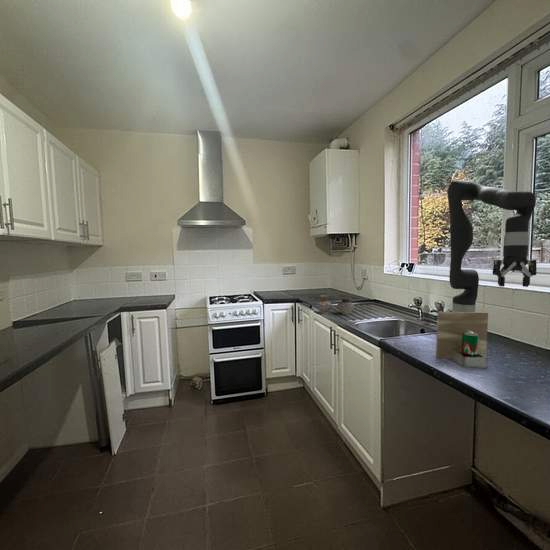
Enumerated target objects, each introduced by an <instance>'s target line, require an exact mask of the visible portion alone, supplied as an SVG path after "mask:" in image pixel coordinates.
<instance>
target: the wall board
mask: <svg viewBox="0 0 550 550" xmlns="http://www.w3.org/2000/svg"><path fill="white" fill-rule="evenodd" d="M436 320H437V321H436V341H435V343H436V345H435V356H436V357H437V358H449V359H450V356H451V349H454V350H455V351H457V352H458V353H460V354H461V352H462V333H463V332H464V330H472V331H476V332H477V334H478V353H480V354H481V355H483V356H485V357H487V342H488V330H489V329H488V326H489V325H488V324H489V312H487V311H486V312H485V311H482V312H480V311H475V312H452V311H437V318H436Z"/></svg>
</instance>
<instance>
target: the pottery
mask: <svg viewBox="0 0 550 550" xmlns="http://www.w3.org/2000/svg"><path fill="white" fill-rule="evenodd" d="M328 298H329V295H325V294H324V295H320V299H321V300H319V302H317V303H316V306H317V309H318V311H320V312H319V313H320V314H321V315H327V314H329V311H330V310H331V308H332V305H333V304H332V303H331V302H330V301H329V299H328ZM340 300H341V302H339V303H337V308H338V310H339V311H340V313H341V315H345V316H350V315H351V313H352V312H354V309H355V304H354V303H353V302H351V301H352V298H351V297H341V299H340Z"/></svg>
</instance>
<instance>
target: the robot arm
mask: <svg viewBox="0 0 550 550" xmlns="http://www.w3.org/2000/svg"><path fill="white" fill-rule="evenodd" d="M463 201H465V202H466V201H481V202H482V203H484V204H487V205H489V206H495V207H498V208H500V209H502V210H506V211H516V212H515V215H514V216H510V217H508V218H507V219H506V220H505V228H504V237H503V247H502V248H503V249H502V250H503V251H502V257H503V259H494V260H493V267H492V275H494V276H497V285H498V287H502V288H503V287H505V283H506V277H505V276H506V275H507V274H508V273H509V272H514V271H515V272H516V271H518V272H520V273H521V275H522V287H527V288H528V287H529V286H530V284H531V277H533V276H536V275H537V259H528V256H529V246H530V245H529V243H530V241H529V240H530V236H529V228H530V220H531V217H532V214H533V212H534V210H535V208H536V204H537V197H536V195H535V194H534V192H531V191H529V190H528V191H527V190H525V191H524V190H522V191H521V190H520V191H519V190H517V191H516V190H509V189H507V188H502V187H497V186H496V187H494V186H484V185H482V184H480V183H477V182H474V181H473V180H472V181H471V180H463V179H462V180H461V179H458V180H457V179H456V180H452V181H451V182H450V183H449V184H448V187H447V202H448V208H449V209H448V210H449V224H450V226H449V228H450V229H449V238H450V239H449V241H450V263H449V275H448V276H449V284H450V287H451V288H452V289H454V290H463V292H462V293H460V294H458V295H455V296H453V297H452V303H451V306H452V307H451V312H476V302H477V299H478V292H479V291H478V290H479V282H480V277H479V273H478V272H477V270H475V269H466V268H465V269H463V268H462V262H463V259H464V257H465V255H466V253H467V252H468V251H469V249H470V247H472V244H473V242H474V226H473V224H472V222H471V220H470V219H469V217H468V216H467V214H466V213H465V210H464V208H463V207H464V206H463ZM502 265H503V266H502ZM527 265H528V266H527ZM501 267H502V268H501Z"/></svg>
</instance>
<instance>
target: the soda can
mask: <svg viewBox="0 0 550 550" xmlns="http://www.w3.org/2000/svg"><path fill="white" fill-rule="evenodd" d="M461 355H463V356H464V357H477V355H478V334H477V332H476V331H472V330H464V332H463V333H462V352H461Z"/></svg>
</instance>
